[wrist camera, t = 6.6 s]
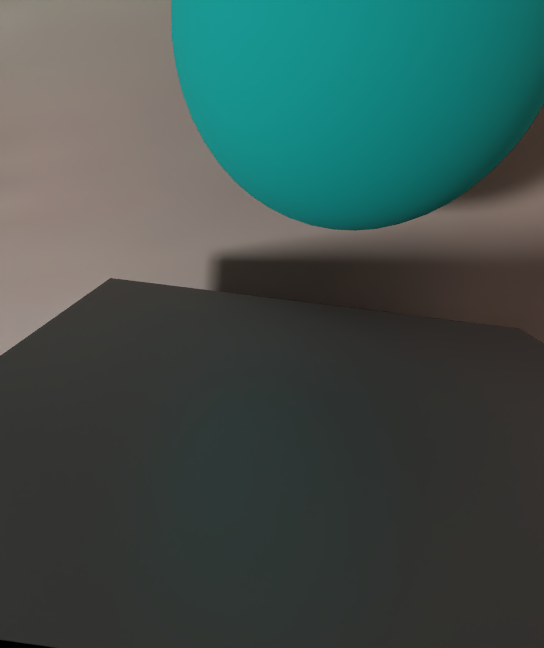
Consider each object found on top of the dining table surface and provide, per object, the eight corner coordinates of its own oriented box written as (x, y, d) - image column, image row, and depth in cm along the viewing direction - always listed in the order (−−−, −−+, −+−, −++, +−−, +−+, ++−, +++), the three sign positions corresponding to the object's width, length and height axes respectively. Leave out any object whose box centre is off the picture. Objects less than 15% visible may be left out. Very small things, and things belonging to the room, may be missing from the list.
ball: (304, 262, 9) (348, 351, 5) (142, 52, 8) (-23, -117, 3) (509, 104, 9) (818, 21, 4) (366, -162, 7) (572, -809, 2)
